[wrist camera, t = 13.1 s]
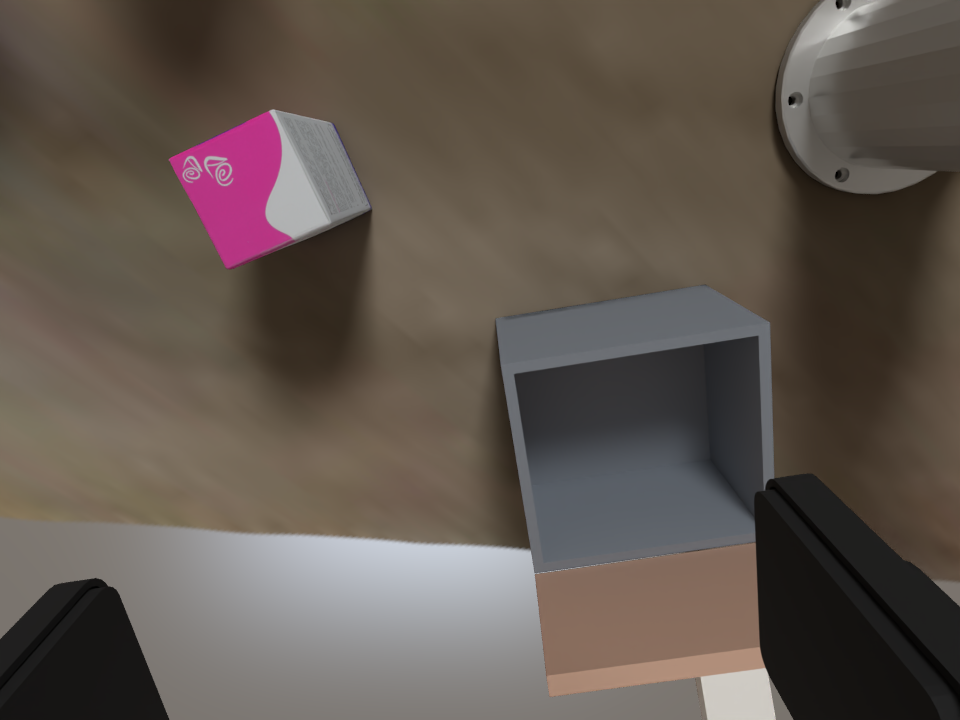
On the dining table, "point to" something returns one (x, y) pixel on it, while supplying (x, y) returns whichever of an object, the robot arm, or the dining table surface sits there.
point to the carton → (638, 424)
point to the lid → (660, 628)
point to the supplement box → (270, 184)
